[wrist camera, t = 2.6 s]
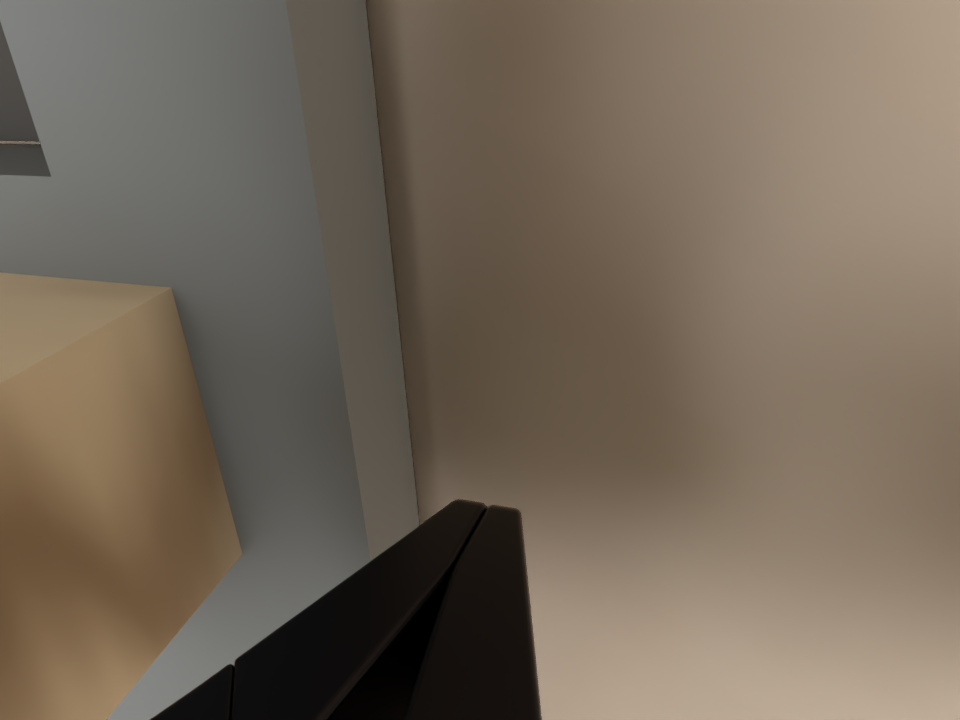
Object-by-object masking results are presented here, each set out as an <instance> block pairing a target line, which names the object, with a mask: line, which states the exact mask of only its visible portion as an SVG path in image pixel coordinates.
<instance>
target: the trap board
mask: <svg viewBox="0 0 960 720" xmlns="http://www.w3.org/2000/svg"><path fill="white" fill-rule="evenodd" d="M0 140H3V141H40V144H41V145H24V144H0V273H11V274H22V275H34V276H45V277H57V278H68V279H79V280H91V281H102V282H114V283H125V284H136V285H148V286H159V287H171V288H172V292H173V296H174V300H175V303H176V307H177V311H178V315H179V318H180V322H181V326H182V330H183V333H184V337H185V341H186V345H187V348H188V352H189V356H190V360H191V363H192V367H193V371H194V374H195V378H196V382H197V386H198V389H199V393H200V397H201V401H202V404H203V408H204V412H205V416H206V419H207V423H208V427H209V431H210V434H211V438H212V442H213V446H214V449H215V453H216V457H217V460H218V464H219V468H220V472H221V475H222V479H223V483H224V487H225V490H226V494H227V498H228V502H229V505H230V509H231V513H232V517H233V520H234V524H235V528H236V532H237V535H238V539H239V543H240V546H241V550H242V555H241V556H240V558H239V559H238V560H237V561H236V562H235V564H234V565H233V566H232V567H231V569H230V570H229V571H228V572H227V573H226V575H225V576H224V577H223V578H222V579H221V581H220V582H219V583H218V584H217V586H216V587H215V588H214V589H213V590H212V592H211V593H210V594H209V595H208V596H207V598H206V599H205V600H204V601H203V603H202V604H201V605H200V606H199V607H198V609H197V610H196V611H195V612H194V613H193V615H192V616H191V617H190V618H189V620H188V621H187V622H186V623H185V624H184V626H183V627H182V628H181V629H180V631H179V632H178V633H177V634H176V635H175V637H174V638H173V639H172V640H171V641H170V643H169V644H168V645H167V646H166V648H165V649H164V650H163V651H162V652H161V654H160V655H159V656H158V657H157V658H156V660H155V661H154V662H153V663H152V665H151V666H150V667H149V668H148V669H147V671H146V672H145V673H144V674H143V676H142V677H141V678H140V679H139V680H138V682H137V683H136V684H135V685H134V686H133V688H132V689H131V690H130V691H129V693H128V694H127V695H126V696H125V697H124V699H123V700H122V701H121V702H120V703H119V705H118V706H117V707H116V708H115V710H114V711H113V712H112V713H111V714H110V716H109V717H108V718H107V719H106V720H150V719H151V718H153V717H154V716H156V715H157V714H159V713H160V712H161V711H163V710H164V709H166V708H167V707H169V706H170V705H172V704H173V703H174V702H176V701H177V700H179V699H180V698H182V697H183V696H185V695H186V694H187V693H189V692H190V691H192V690H193V689H195V688H196V687H197V686H199V685H200V684H202V683H203V682H204V681H206V680H207V679H209V678H210V677H211V676H213V675H214V674H215V673H217V672H218V671H220V670H221V669H222V668H224V667H225V666H226V665H228V664H232V665H234V662H235V660H236V659H237V658H238V657H239V656H241V655H242V654H243V653H245V652H246V651H248V650H249V649H250V648H252V647H253V646H254V645H256V644H257V643H259V642H260V641H261V640H263V639H264V638H265V637H267V636H268V635H270V634H271V633H272V632H274V631H275V630H276V629H278V628H279V627H281V626H282V625H283V624H285V623H286V622H287V621H289V620H290V619H292V618H293V617H294V616H296V615H297V614H298V613H300V612H301V611H303V610H304V609H305V608H307V607H308V606H309V605H311V604H312V603H314V602H315V601H316V600H318V599H319V598H320V597H322V596H323V595H325V594H326V593H327V592H329V591H330V590H332V589H333V588H334V587H336V586H337V585H338V584H340V583H341V582H343V581H344V580H345V579H347V578H348V577H349V576H351V575H352V574H354V573H355V572H356V571H358V570H359V569H360V568H362V567H363V566H365V565H366V564H367V563H369V562H370V561H371V560H373V559H374V558H376V557H377V556H378V555H380V554H381V553H382V552H384V551H385V550H387V549H388V548H389V547H391V546H392V545H393V544H395V543H396V542H398V541H399V540H400V539H402V538H403V537H404V536H406V535H407V534H409V533H410V532H411V531H413V530H414V529H415V528H417V527H418V526H419V516H418V506H417V496H416V487H415V477H414V467H413V458H412V448H411V438H410V428H409V419H408V409H407V399H406V389H405V380H404V370H403V360H402V350H401V341H400V331H399V321H398V311H397V302H396V292H395V282H394V272H393V263H392V253H391V243H390V234H389V224H388V214H387V204H386V195H385V185H384V175H383V165H382V156H381V146H380V136H379V126H378V117H377V107H376V97H375V87H374V78H373V68H372V58H371V49H370V39H369V29H368V19H367V10H366V0H0Z"/></svg>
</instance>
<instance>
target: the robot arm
mask: <svg viewBox="0 0 960 720" xmlns="http://www.w3.org/2000/svg"><path fill="white" fill-rule="evenodd" d="M150 720H542V716H541V706H540V696H539V686H538V676H537V666H536V656H535V646H534V636H533V626H532V616H531V606H530V596H529V586H528V576H527V566H526V556H525V546H524V536H523V526H522V517H521V512H520V510H518V509H516V508H511V507H505V506H499V505H491V506H489V507H487V506H486V505H485V504H484V503H480V502H474V501H468V500H462V499H458V500H455V501H453V502H451V503H450V504H448V505H447V506H446V507H444V508H443V509H442V510H440V511H439V512H437V513H436V514H435V515H433V516H432V517H431V518H429V519H428V520H426V521H425V522H424V523H422V524H421V525H420V526H418V527H417V528H415V529H414V530H413V531H411V532H410V533H409V534H407V535H406V536H404V537H403V538H402V539H400V540H399V541H398V542H396V543H395V544H393V545H392V546H391V547H389V548H388V549H387V550H385V551H384V552H382V553H381V554H380V555H378V556H377V557H376V558H374V559H373V560H371V561H370V562H369V563H367V564H366V565H365V566H363V567H362V568H360V569H359V570H358V571H356V572H355V573H354V574H352V575H351V576H349V577H348V578H347V579H345V580H344V581H343V582H341V583H340V584H338V585H337V586H336V587H334V588H333V589H332V590H330V591H329V592H327V593H326V594H325V595H323V596H322V597H320V598H319V599H318V600H316V601H315V602H314V603H312V604H311V605H309V606H308V607H307V608H305V609H304V610H303V611H301V612H300V613H298V614H297V615H296V616H294V617H293V618H292V619H290V620H289V621H287V622H286V623H285V624H283V625H282V626H281V627H279V628H278V629H276V630H275V631H274V632H272V633H271V634H270V635H268V636H267V637H265V638H264V639H263V640H261V641H260V642H259V643H257V644H256V645H254V646H253V647H252V648H250V649H249V650H248V651H246V652H245V653H243V654H242V655H241V656H239V657H238V658H237V659H236V660H235V662H234V665H232V664H228V665H226V666H225V667H224V668H222V669H221V670H220V671H218V672H217V673H215V674H214V675H213V676H211V677H210V678H209V679H207V680H206V681H204V682H203V683H202V684H200V685H199V686H197V687H196V688H195V689H193V690H192V691H190V692H189V693H187V694H186V695H185V696H183V697H182V698H180V699H179V700H177V701H176V702H174V703H173V704H172V705H170V706H169V707H167V708H166V709H164V710H163V711H161V712H160V713H159V714H157V715H156V716H154V717H153V718H151V719H150Z"/></svg>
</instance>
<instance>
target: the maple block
mask: <svg viewBox="0 0 960 720" xmlns="http://www.w3.org/2000/svg"><path fill="white" fill-rule="evenodd" d="M241 555H242V550H241V546H240V543H239V539H238V535H237V532H236V528H235V524H234V520H233V517H232V513H231V509H230V505H229V502H228V498H227V494H226V490H225V487H224V483H223V479H222V475H221V472H220V468H219V464H218V460H217V457H216V453H215V449H214V446H213V442H212V438H211V434H210V431H209V427H208V423H207V419H206V416H205V412H204V408H203V404H202V401H201V397H200V393H199V389H198V386H197V382H196V378H195V374H194V371H193V367H192V363H191V360H190V356H189V352H188V348H187V345H186V341H185V337H184V333H183V330H182V326H181V322H180V318H179V315H178V311H177V307H176V303H175V300H174V296H173V292H172V288H171V287H159V286H148V285H136V284H125V283H114V282H102V281H91V280H79V279H68V278H57V277H45V276H34V275H22V274H11V273H0V720H106V719H107V718H108V717H109V716H110V714H111V713H112V712H113V711H114V710H115V708H116V707H117V706H118V705H119V703H120V702H121V701H122V700H123V699H124V697H125V696H126V695H127V694H128V693H129V691H130V690H131V689H132V688H133V686H134V685H135V684H136V683H137V682H138V680H139V679H140V678H141V677H142V676H143V674H144V673H145V672H146V671H147V669H148V668H149V667H150V666H151V665H152V663H153V662H154V661H155V660H156V658H157V657H158V656H159V655H160V654H161V652H162V651H163V650H164V649H165V648H166V646H167V645H168V644H169V643H170V641H171V640H172V639H173V638H174V637H175V635H176V634H177V633H178V632H179V631H180V629H181V628H182V627H183V626H184V624H185V623H186V622H187V621H188V620H189V618H190V617H191V616H192V615H193V613H194V612H195V611H196V610H197V609H198V607H199V606H200V605H201V604H202V603H203V601H204V600H205V599H206V598H207V596H208V595H209V594H210V593H211V592H212V590H213V589H214V588H215V587H216V586H217V584H218V583H219V582H220V581H221V579H222V578H223V577H224V576H225V575H226V573H227V572H228V571H229V570H230V569H231V567H232V566H233V565H234V564H235V562H236V561H237V560H238V559H239V558H240V556H241Z"/></svg>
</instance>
